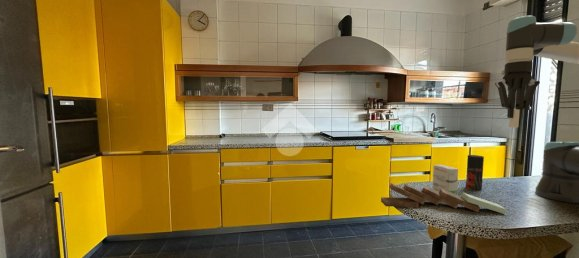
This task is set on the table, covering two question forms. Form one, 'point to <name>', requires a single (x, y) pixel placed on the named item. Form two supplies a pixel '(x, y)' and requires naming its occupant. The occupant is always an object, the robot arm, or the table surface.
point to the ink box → (445, 178)
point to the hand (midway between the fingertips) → (513, 127)
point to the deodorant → (474, 172)
